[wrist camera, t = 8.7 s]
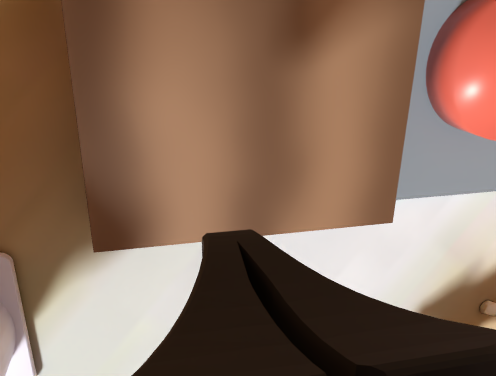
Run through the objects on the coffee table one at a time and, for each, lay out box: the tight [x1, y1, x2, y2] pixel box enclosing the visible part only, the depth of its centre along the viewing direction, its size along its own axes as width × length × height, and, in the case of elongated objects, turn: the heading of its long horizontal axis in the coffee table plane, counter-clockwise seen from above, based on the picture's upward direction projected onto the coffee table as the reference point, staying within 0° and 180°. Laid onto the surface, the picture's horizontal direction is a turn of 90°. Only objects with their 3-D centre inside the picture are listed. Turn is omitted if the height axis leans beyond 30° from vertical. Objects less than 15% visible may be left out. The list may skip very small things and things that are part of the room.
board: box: [61, 0, 425, 252], centre depth 19 cm, size 14×16×3 cm
